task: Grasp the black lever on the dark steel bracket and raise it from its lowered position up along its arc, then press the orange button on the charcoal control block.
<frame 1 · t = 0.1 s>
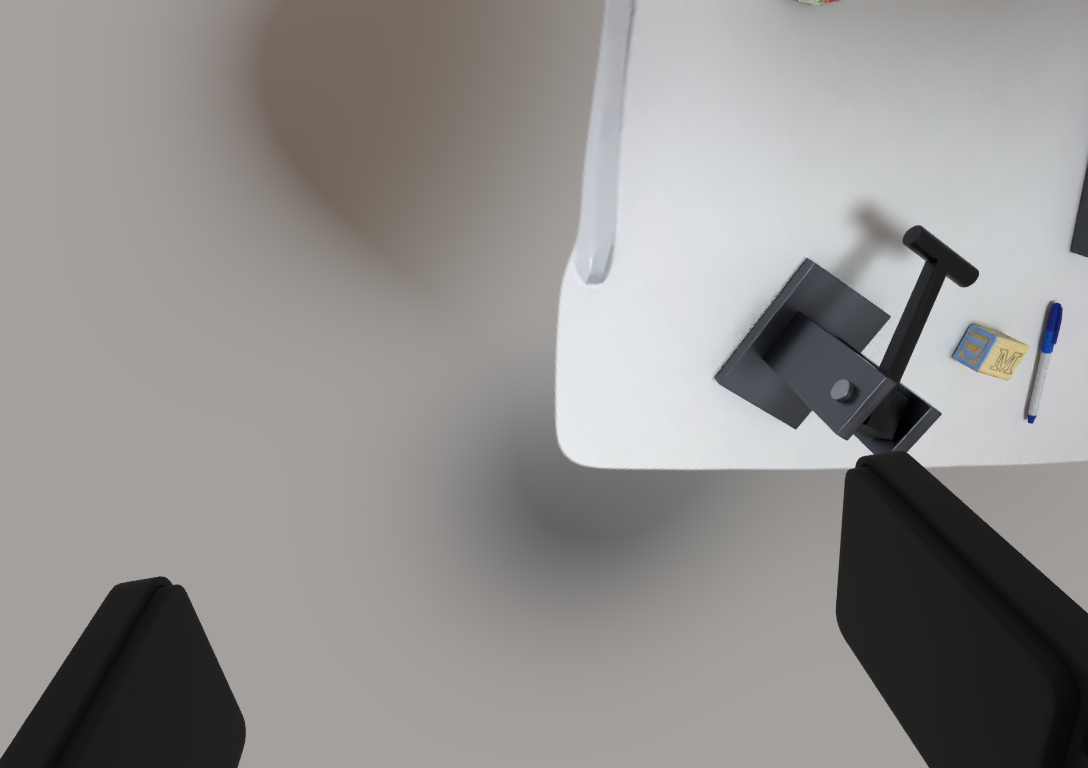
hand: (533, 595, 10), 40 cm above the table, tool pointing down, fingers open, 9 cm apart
lever: (905, 337, 44), point 9 cm above the table, hinge at -25.0°
ballpoint pen: (1038, 362, 57), on the table
bracket: (797, 344, 54), on the table
alphabet block: (975, 343, 56), on the table
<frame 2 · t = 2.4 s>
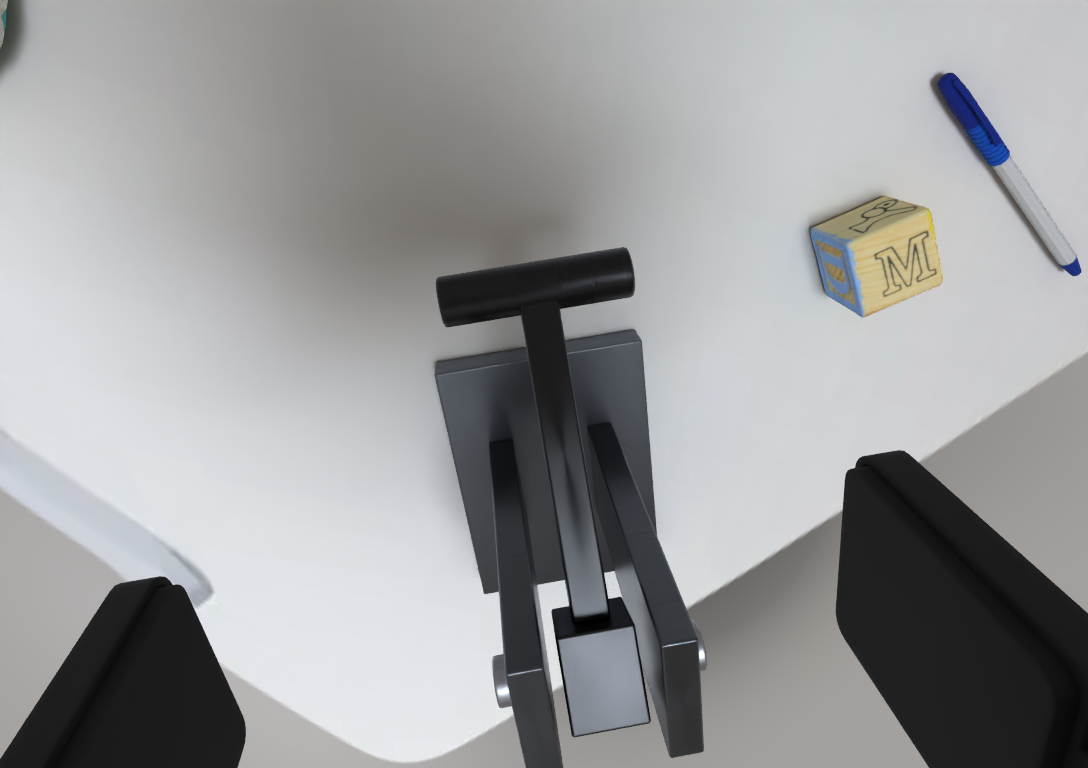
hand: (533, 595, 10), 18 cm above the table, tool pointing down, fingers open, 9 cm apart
lever: (569, 487, 20), point 9 cm above the table, hinge at -25.0°
ballpoint pen: (1005, 178, 27), on the table
bracket: (553, 462, 30), on the table
alphabet block: (851, 243, 28), on the table
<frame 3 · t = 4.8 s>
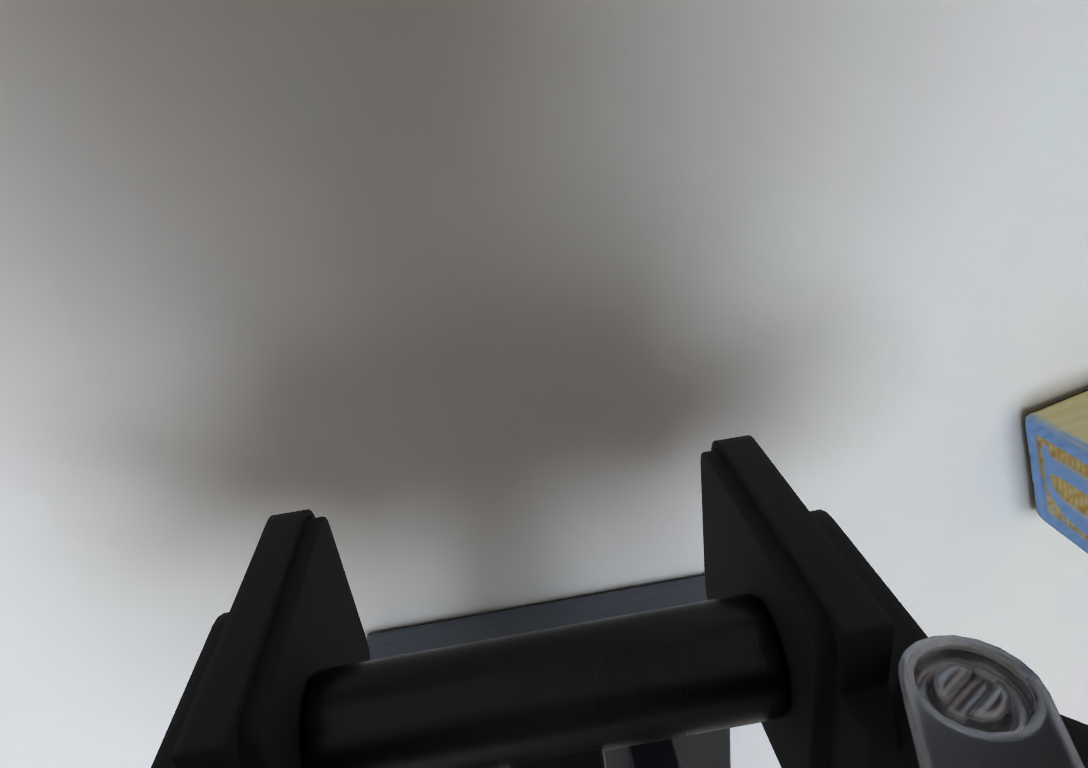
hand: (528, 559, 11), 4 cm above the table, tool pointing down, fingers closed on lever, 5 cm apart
bracket: (567, 760, 18), on the table
alphabet block: (1085, 432, 16), on the table
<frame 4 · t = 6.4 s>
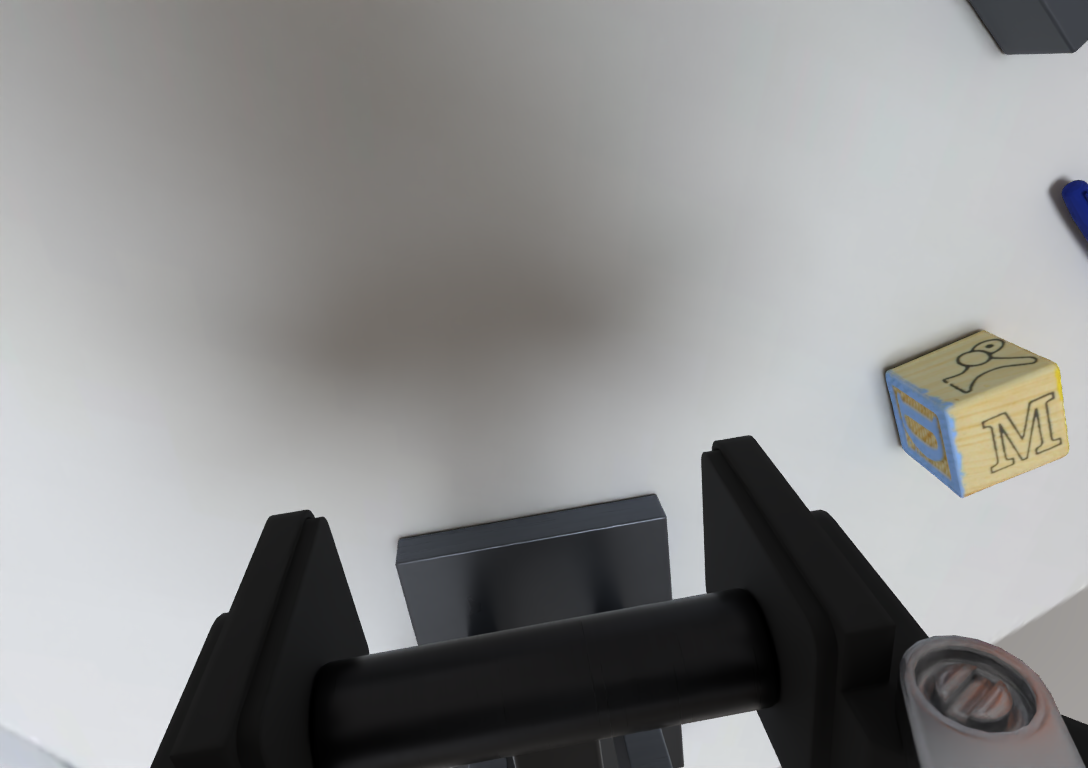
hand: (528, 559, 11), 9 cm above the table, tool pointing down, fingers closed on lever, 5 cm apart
bracket: (551, 649, 24), on the table
alphabet block: (935, 386, 21), on the table
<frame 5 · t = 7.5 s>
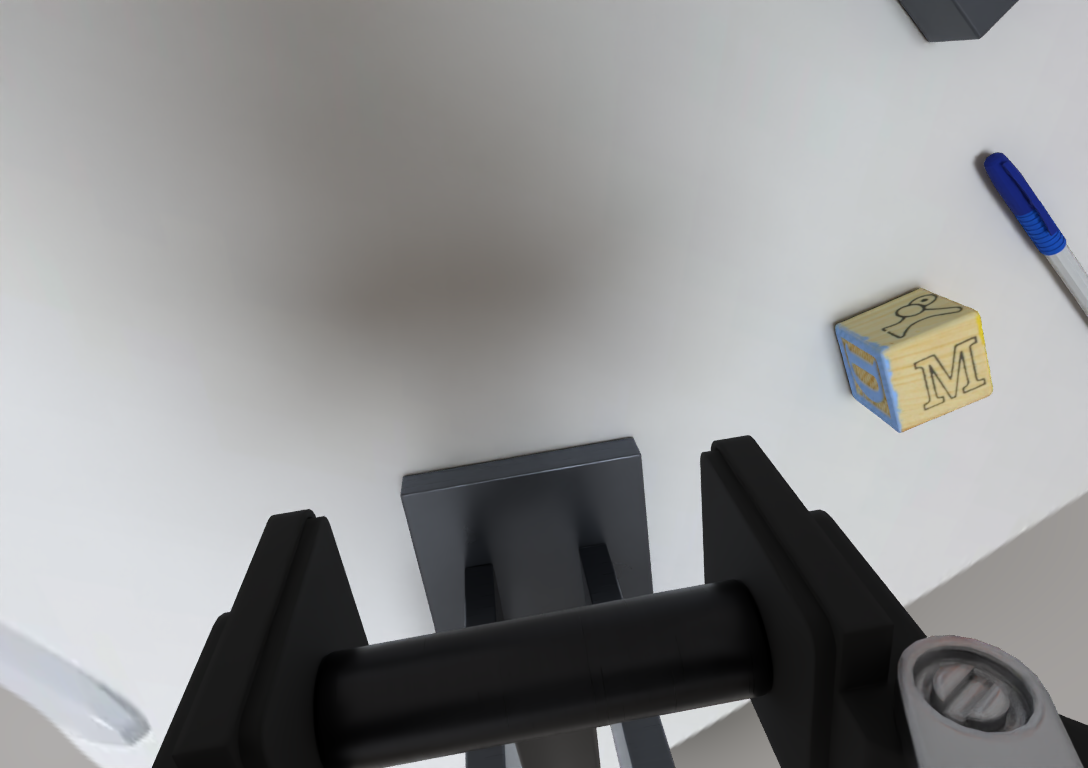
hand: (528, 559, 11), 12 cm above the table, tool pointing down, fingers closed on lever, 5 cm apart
ballpoint pen: (1058, 267, 23), on the table
bracket: (540, 582, 26), on the table
alphabet block: (881, 339, 24), on the table
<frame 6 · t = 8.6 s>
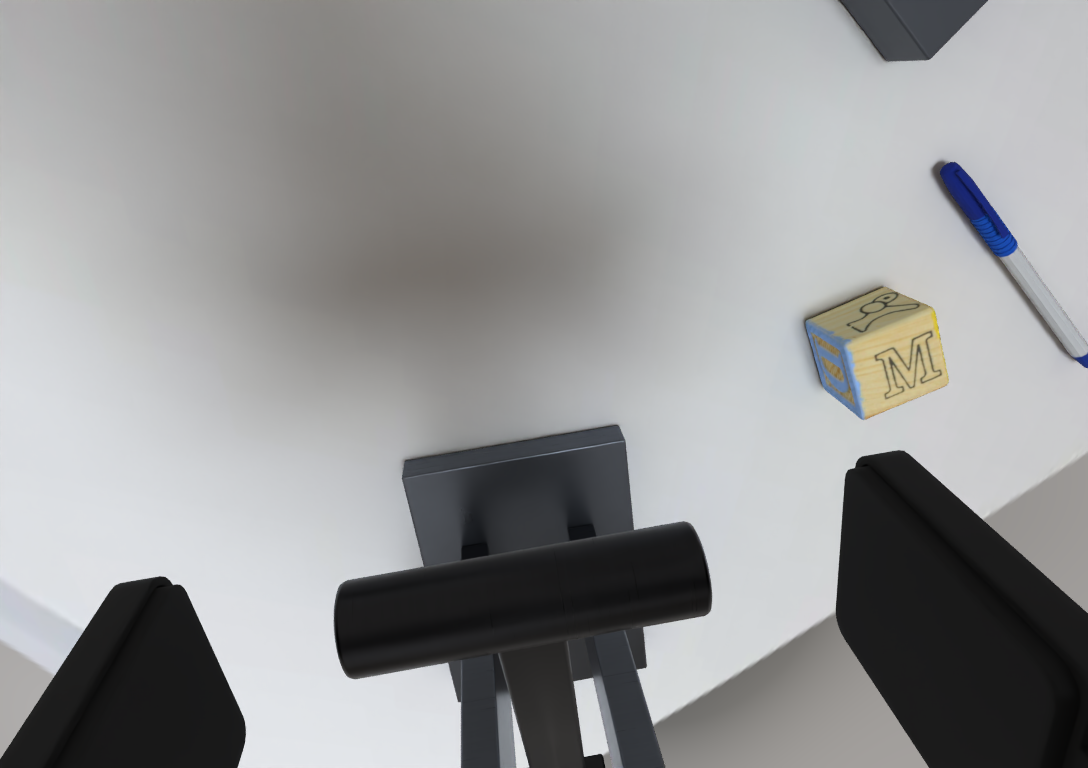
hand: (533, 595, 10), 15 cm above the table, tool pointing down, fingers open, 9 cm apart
lever: (555, 750, 15), point 13 cm above the table, hinge at 17.2°
ballpoint pen: (1012, 267, 25), on the table
bracket: (532, 561, 28), on the table
alphabet block: (849, 334, 26), on the table
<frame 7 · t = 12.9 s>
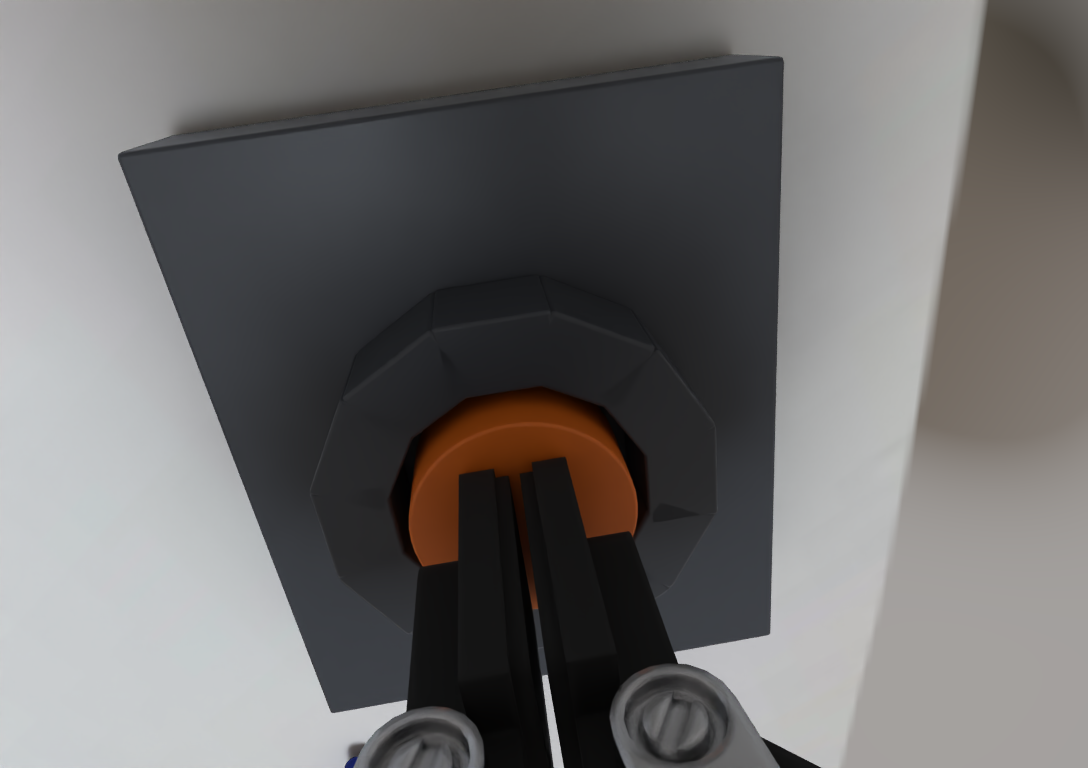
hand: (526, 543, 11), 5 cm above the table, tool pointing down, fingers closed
control block: (507, 394, 15), on the table
button: (521, 492, 12), point 4 cm above the table, slide at -0.7 cm, touching gripper
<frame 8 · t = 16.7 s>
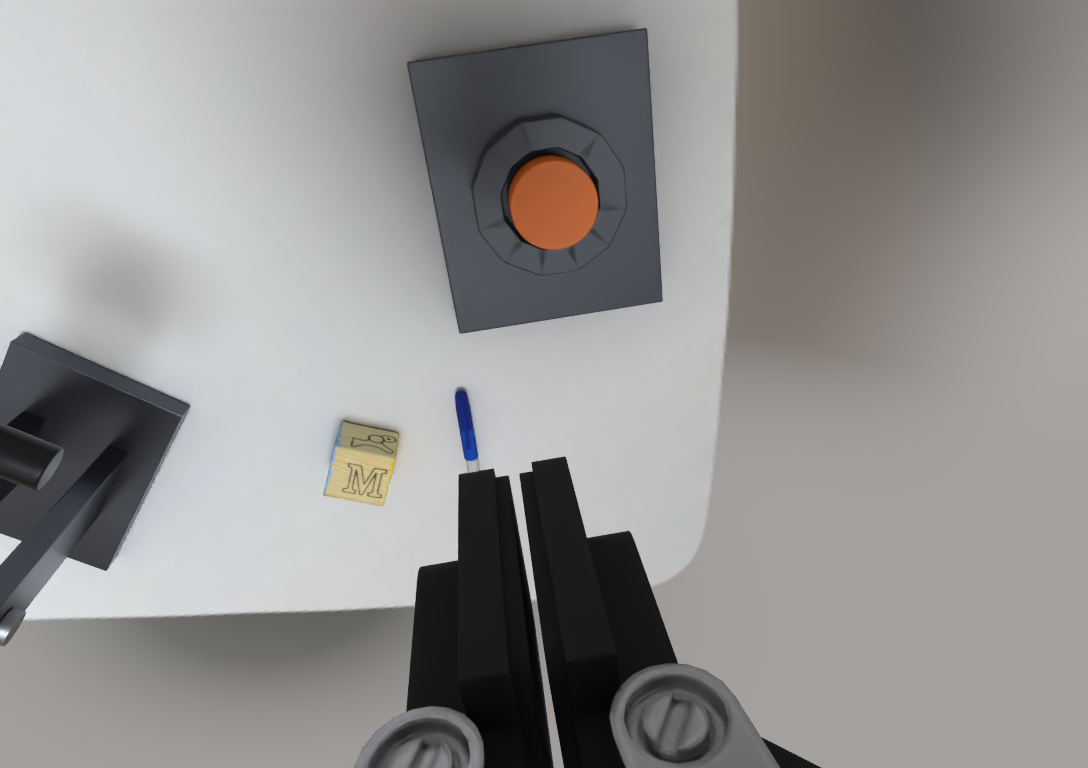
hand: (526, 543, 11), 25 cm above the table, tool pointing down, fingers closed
ballpoint pen: (474, 470, 40), on the table
control block: (541, 184, 33), on the table
bracket: (74, 453, 37), on the table
button: (552, 202, 29), point 4 cm above the table, slide at 0.1 cm
alphabet block: (366, 446, 38), on the table
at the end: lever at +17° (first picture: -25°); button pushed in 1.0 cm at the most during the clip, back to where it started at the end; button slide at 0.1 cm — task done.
